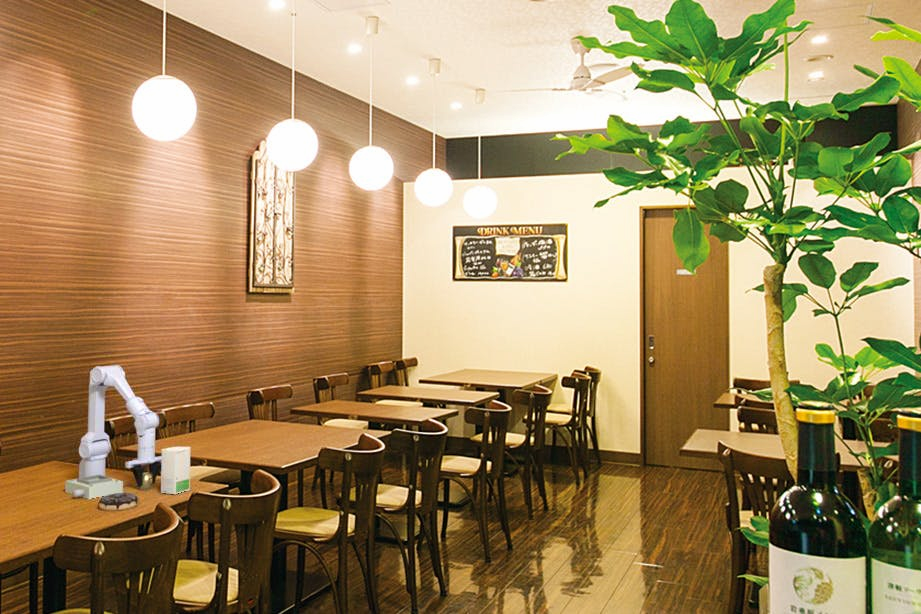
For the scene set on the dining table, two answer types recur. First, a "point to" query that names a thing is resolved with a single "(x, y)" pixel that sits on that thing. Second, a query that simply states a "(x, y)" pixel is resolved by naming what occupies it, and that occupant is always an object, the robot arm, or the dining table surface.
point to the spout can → (146, 481)
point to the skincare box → (175, 470)
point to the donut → (118, 501)
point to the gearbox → (93, 486)
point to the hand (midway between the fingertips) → (145, 484)
